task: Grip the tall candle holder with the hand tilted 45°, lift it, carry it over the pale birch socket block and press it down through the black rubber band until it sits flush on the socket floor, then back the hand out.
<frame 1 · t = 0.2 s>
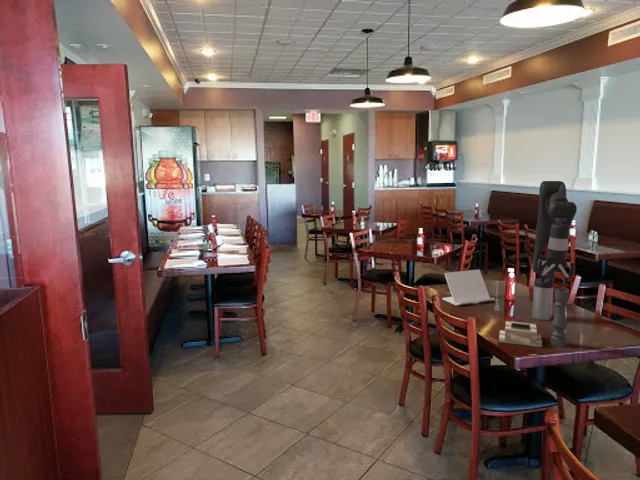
hand: (553, 284, 207), 29 cm above the table, tool pointing down, fingers open, 8 cm apart
grey laptop: (468, 301, 286), on the table
candle holder: (558, 344, 216), on the table
socket: (519, 339, 222), on the table
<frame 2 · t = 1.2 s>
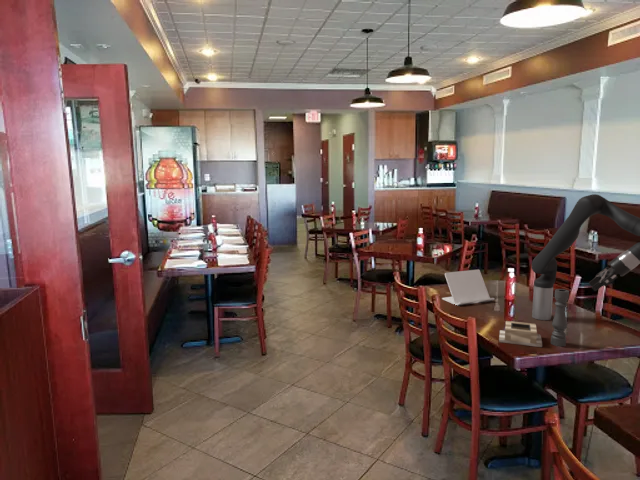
hand: (591, 287, 208), 28 cm above the table, tool tilted 45°, fingers open, 8 cm apart
nothing on the table moved.
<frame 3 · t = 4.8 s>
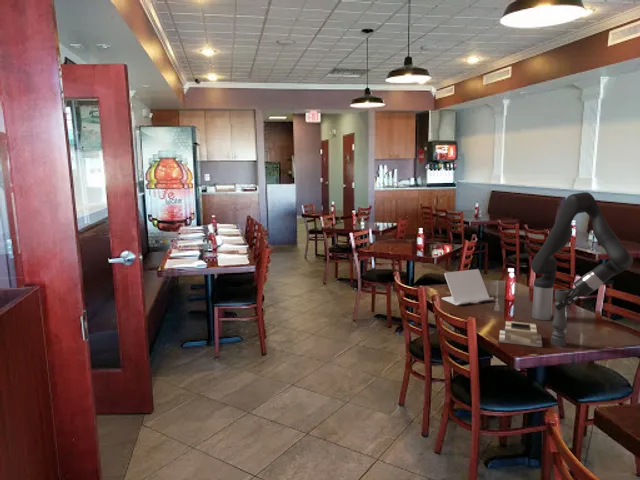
hand: (556, 307, 214), 17 cm above the table, tool tilted 45°, fingers closed on candle holder, 5 cm apart
candle holder: (558, 344, 216), on the table, touching gripper
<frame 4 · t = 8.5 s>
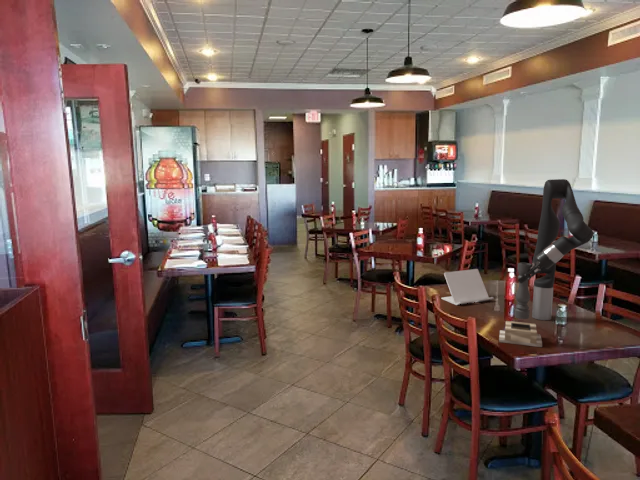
hand: (519, 280, 218), 28 cm above the table, tool tilted 45°, fingers closed on candle holder, 5 cm apart
candle holder: (521, 317, 220), point 11 cm above the table, touching gripper
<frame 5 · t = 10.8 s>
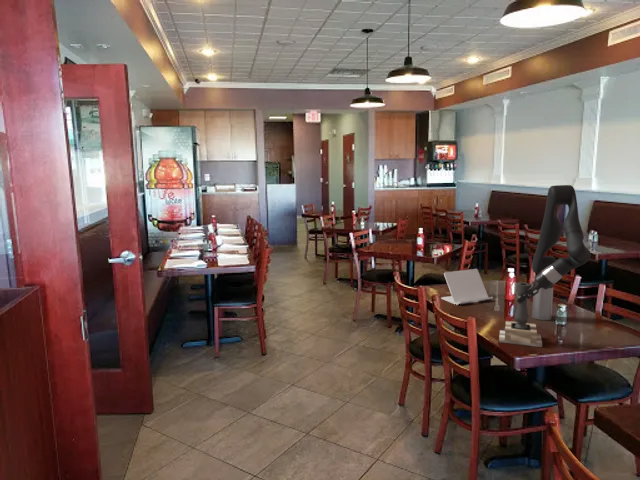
hand: (518, 300, 220), 19 cm above the table, tool tilted 45°, fingers closed on candle holder, 5 cm apart
candle holder: (520, 336, 222), point 1 cm above the table, touching gripper
when the fingers open (18 cm above the table, at t = 12.5 s): candle holder stays where it is, resting on socket.
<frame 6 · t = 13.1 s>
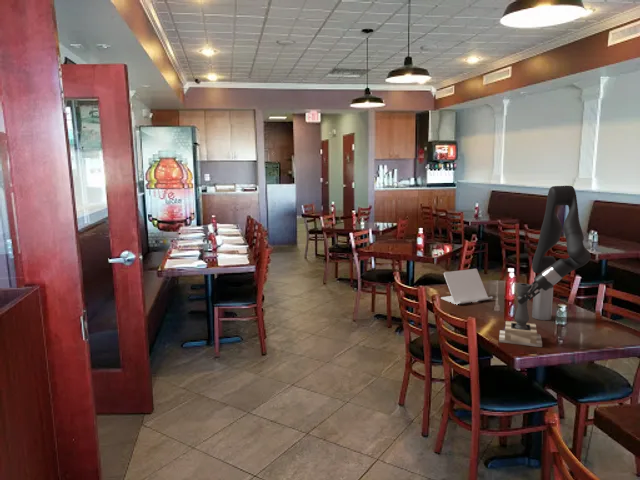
hand: (519, 300, 220), 19 cm above the table, tool tilted 45°, fingers open, 8 cm apart
candle holder: (520, 337, 222), point 1 cm above the table, touching socket
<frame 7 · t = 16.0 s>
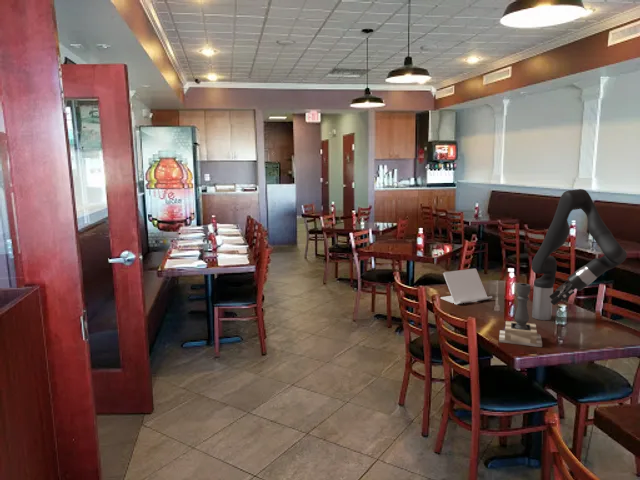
hand: (551, 300, 215), 20 cm above the table, tool tilted 45°, fingers open, 8 cm apart
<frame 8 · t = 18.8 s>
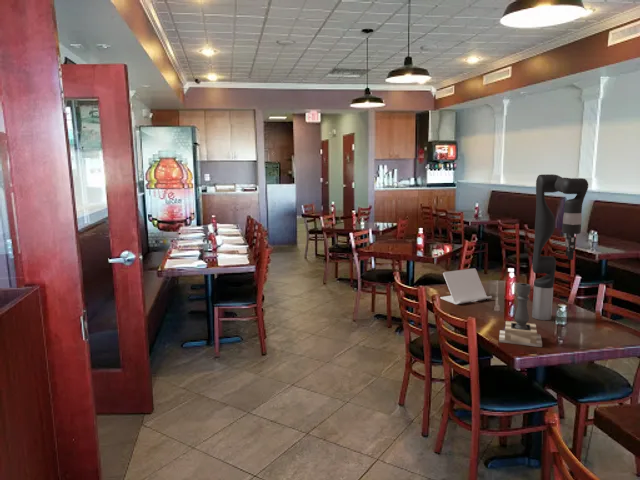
hand: (569, 257, 218), 38 cm above the table, tool pointing down, fingers open, 8 cm apart
at the end: candle holder 0.2 cm off-centre on the socket, point 1.0 cm above the socket's base; candle holder tilted 0°; the gripper is holding nothing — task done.
